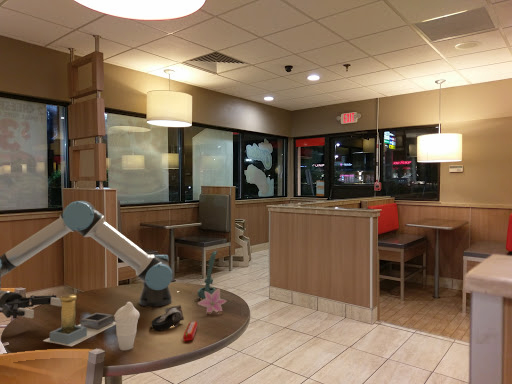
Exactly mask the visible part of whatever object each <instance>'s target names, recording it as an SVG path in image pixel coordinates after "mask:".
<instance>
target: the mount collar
mask: <svg viewBox="0 0 512 384" xmlns="http://www.w3.org/2000/svg"><path fill="white" fill-rule="evenodd" d="M113 322H114V314H109V313H102V312H94V313H92V314H90V315H87V316H85V317H83V318H80V324H81V326H83V327H87V328H90V329H96V330H99V329H101V328H103V327H105V326H107V325H109V324H111V323H113Z"/></svg>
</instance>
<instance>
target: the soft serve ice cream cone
mask: <svg viewBox="0 0 512 384" xmlns="http://www.w3.org/2000/svg"><path fill="white" fill-rule="evenodd" d="M140 315H141V314H140V312H139V310H137V309H136V308H135V306H134V305H133V302H131V301H127V302H126V303H125V305H123V306H121V307H120V308H118V310H117V311H116V312H115V314H113V318H114V322H116V325H115V327H116V328H115V329H116V332H115V334H116V337H117V341H118V347H119V350H120V351H129V350H132V349H133V348H134V343H135V338H136V335H137V326H138V320H139V318H140Z"/></svg>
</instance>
